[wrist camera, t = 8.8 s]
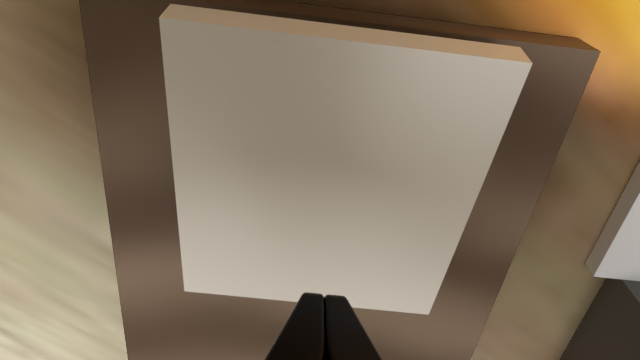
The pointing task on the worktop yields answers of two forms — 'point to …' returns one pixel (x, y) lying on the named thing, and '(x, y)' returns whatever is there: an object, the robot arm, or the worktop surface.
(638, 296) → the dark grey pillar block
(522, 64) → the tile
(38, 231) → the worktop surface
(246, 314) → the walnut board
